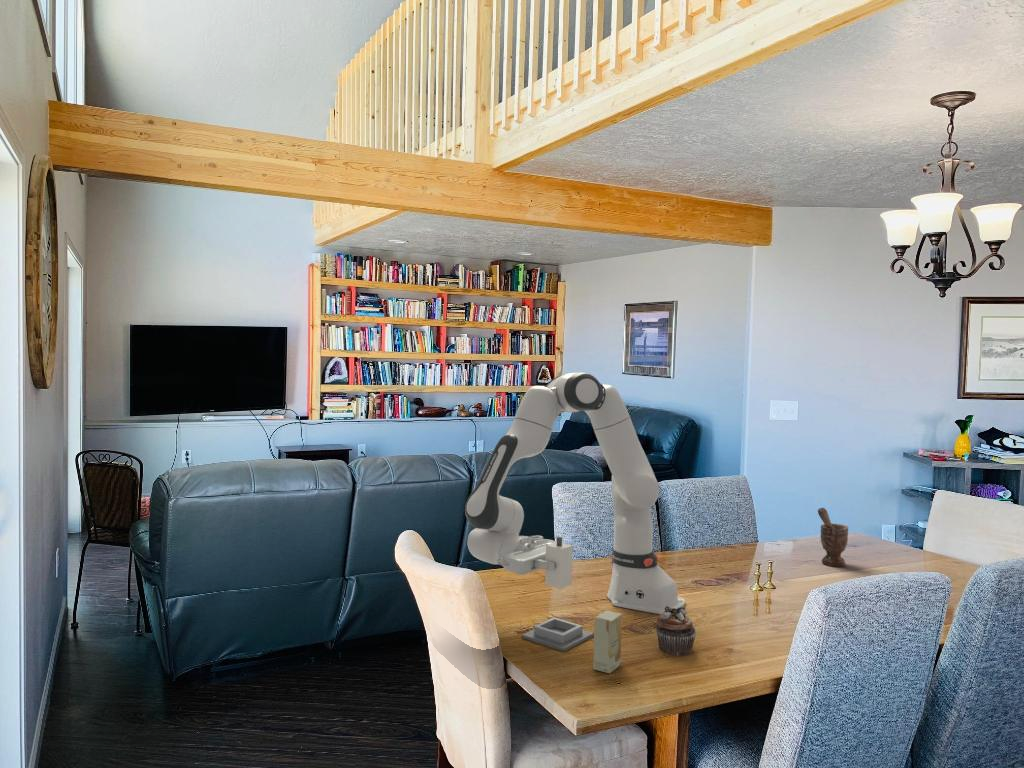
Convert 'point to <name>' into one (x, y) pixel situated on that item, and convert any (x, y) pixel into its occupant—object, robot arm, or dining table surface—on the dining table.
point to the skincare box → (607, 641)
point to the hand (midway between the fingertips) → (561, 563)
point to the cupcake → (675, 632)
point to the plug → (559, 564)
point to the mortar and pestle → (832, 540)
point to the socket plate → (558, 634)
